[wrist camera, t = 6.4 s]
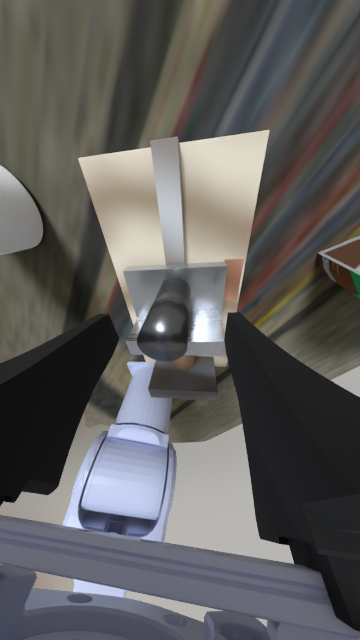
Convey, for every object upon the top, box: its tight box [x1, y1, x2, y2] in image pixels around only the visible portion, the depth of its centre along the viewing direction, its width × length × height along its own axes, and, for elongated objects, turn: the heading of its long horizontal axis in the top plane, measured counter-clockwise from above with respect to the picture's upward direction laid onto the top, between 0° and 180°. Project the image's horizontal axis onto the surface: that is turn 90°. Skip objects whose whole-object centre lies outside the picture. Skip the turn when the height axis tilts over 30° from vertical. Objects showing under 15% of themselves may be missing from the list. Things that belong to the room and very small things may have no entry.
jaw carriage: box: [123, 262, 227, 362], centre depth 11 cm, size 6×8×7 cm
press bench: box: [78, 130, 269, 401], centre depth 14 cm, size 22×12×6 cm, turn 4°
